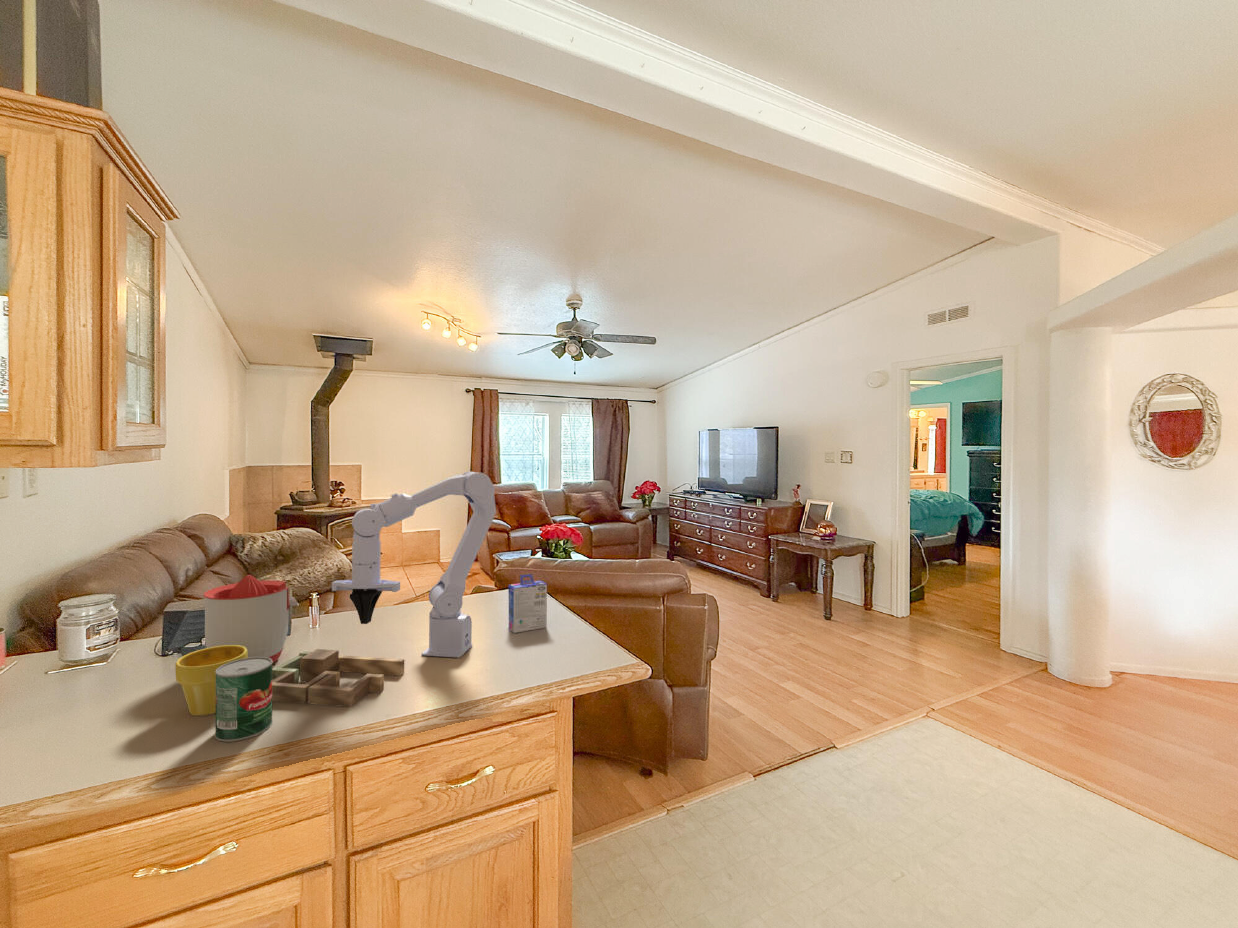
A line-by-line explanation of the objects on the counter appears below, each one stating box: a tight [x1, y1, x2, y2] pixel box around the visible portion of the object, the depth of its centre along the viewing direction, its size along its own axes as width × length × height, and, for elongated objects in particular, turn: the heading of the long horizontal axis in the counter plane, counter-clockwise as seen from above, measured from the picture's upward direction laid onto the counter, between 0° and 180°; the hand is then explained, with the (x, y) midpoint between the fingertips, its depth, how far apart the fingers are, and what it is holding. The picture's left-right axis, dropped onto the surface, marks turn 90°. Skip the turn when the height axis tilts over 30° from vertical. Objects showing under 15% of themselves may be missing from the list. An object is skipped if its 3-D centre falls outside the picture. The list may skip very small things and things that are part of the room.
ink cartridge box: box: [507, 573, 548, 634], centre depth 139 cm, size 10×6×14 cm, turn 120°
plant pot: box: [174, 645, 248, 717], centre depth 93 cm, size 10×10×10 cm
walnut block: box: [299, 648, 340, 683], centre depth 107 cm, size 5×5×5 cm
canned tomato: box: [214, 657, 274, 743], centre depth 86 cm, size 8×8×11 cm
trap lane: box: [272, 650, 405, 708], centre depth 103 cm, size 24×15×3 cm, turn 84°
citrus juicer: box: [203, 574, 299, 664], centre depth 113 cm, size 16×17×20 cm
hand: (365, 622), depth 113 cm, fingers closed
